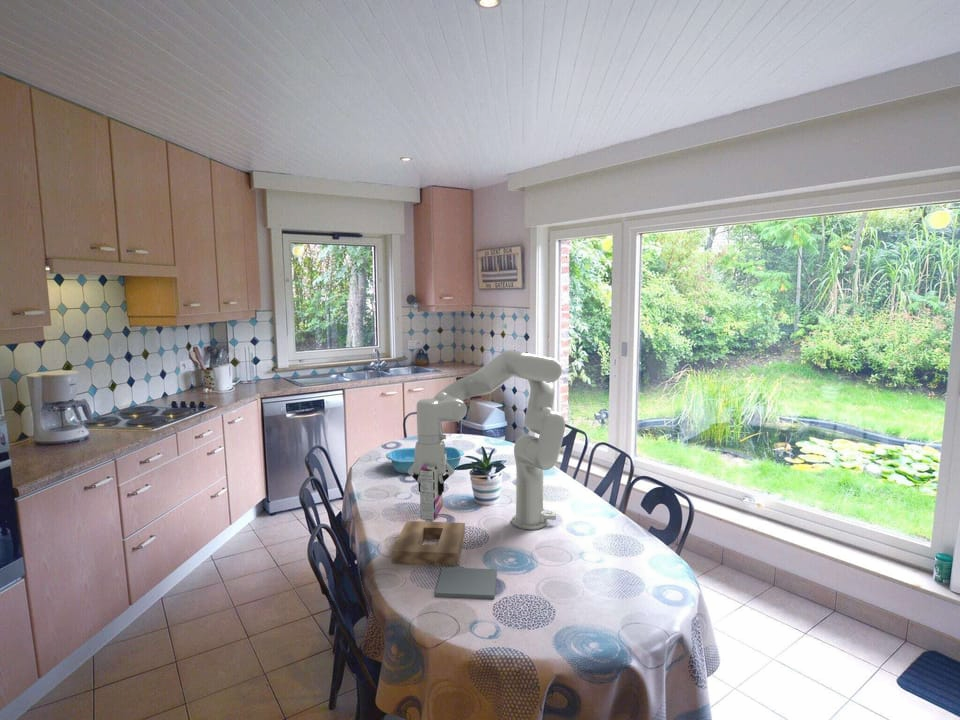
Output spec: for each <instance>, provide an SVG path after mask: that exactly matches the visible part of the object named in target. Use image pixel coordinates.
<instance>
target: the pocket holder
mask: <svg viewBox="0 0 960 720" xmlns="http://www.w3.org/2000/svg"><path fill="white" fill-rule="evenodd" d="M465 535H466V523H465V522H453V521H451V522H450V521H449V522H447V521H446V522H445V521H424V520H423V521H419V520H418V521H417V520H406V522H405V523H404V526H403V527H402V530H401V532H400V534H399V535H398V536H397V539H396V541H395V543H394V545H393V548H392V549H391V564H394V563H398V565H403V564H404V565H421V564H429V566H447V565H453V567H455V566H456V567H458V565H459V561H460V556H461V552H462V547H463V544H464V541H465ZM424 540H438V542H437V545H436V544H423V543H424ZM422 542H423V543H422ZM399 563H400V564H399Z"/></svg>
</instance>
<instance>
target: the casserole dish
mask: <svg viewBox="0 0 960 720" xmlns="http://www.w3.org/2000/svg"><path fill="white" fill-rule="evenodd" d="M445 448H446V455H447V463H448V464H449V465H450V466H451V467H452V469H454V470H456V469H455V467H457V466H458V467H459V464H460V462H461V459H462V456H464V455H465V451H463V450H462V449H459V448H456V447H453V446H445ZM414 454H415V447H412V448H411V447H408V448H407V447H406V448H398V449H397V448H396V449H392V450H391V451H389V452H388V453H386V454H385V457H386V459H387V460H390V461H391V464H392V466H393V469H394V470H395V471H396V472H397V473H398V474H408V473H407V471H408V470H409V469H410V467H411V466H412V465H413V464H414ZM458 467H457V468H458ZM413 471H414V470H413ZM414 472H415V471H414ZM446 472H448V471H447V469H446Z"/></svg>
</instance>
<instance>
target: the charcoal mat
mask: <svg viewBox="0 0 960 720" xmlns="http://www.w3.org/2000/svg"><path fill="white" fill-rule="evenodd" d="M497 572H498V569H497V568H476V567H475V568H473V567H472V568H471V567H470V568H469V567H447V566H445V567H444V566H442V569H441V572H440V575H439V580H438V583H437V586H436V589H435V593H434V594H435V595H434V596H435V597H440V598H441V597H444V598H445V597H446V598H462V599H463V598H466V599H467V598H468V599H469V598H470V599H486V600H487V599H492V600H494V599H495V597H496V586H497V585H496V584H497V574H498V573H497Z"/></svg>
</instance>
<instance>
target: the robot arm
mask: <svg viewBox="0 0 960 720" xmlns="http://www.w3.org/2000/svg"><path fill="white" fill-rule="evenodd" d="M562 370H563V369H562V365H561V363H560V362H559V361H558V359H555V358H553V357H547V356H542V355H537V354H533V353H528V352H524V351H520V350H519V351H517V350H512V349H509V350H504V351H502V352H501V353H499V354H498V355H497V356H495V357H494V358H493V359H491V360H490V361H489V362H487V363H486V364H485V365H484V366H482V367H481V368H479V369H478V370H476V371H475V372H474V373H471V374H468V375H466V376H463V377H462V378H461V377H460V378H459V379H457V380H455V381H453V382H452V383H450V384H448V385H447V386H445V387H444V388H442V389H441V390H440V391H439V392H438V393H437V394H435V396H434V397H433V398H424V399H420V400H418V401H417V403H416V426H417V427H416V429H417V432H416V433H417V441H416V442H415V447H414V448H415V454H414V464H413V465H412V466H411V467H410V469H409V470H408V471H407V473H406V474H408V475H410V476H411V477H412V478H413V479H414V481H416V482H417V484H418V485H417V486H418V492H419V493H420V469H421V467H423V466H431V467H437V474H438V478H439V484H438V488H439V496H441V494H442V495H443V493H444V492H445V481H446V480H447V479H448V478H449V477H451V476H452V475H454V473H455V469H454V470H453V469H452V467H451V466H450V465H449V464H448V463H447V455H446V448H445V447H446V443H445V441H444V440H447V434H443V432H442V423H443V422H445V423H447V422H449V423H450V422H453V423H454V422H458V421H461V420H463V419H464V417H466V416H467V412H468V406H467V405H466V403H465V402H464V401H465V400H467V399H470V398H472V397H478V396H485V395H489V394H491V393H493V392H494V391H496V390H497V389H499V388H500V387H501V386H502V385H503V384H504V383H506V382H508V380H510V379H511V378H512V377H515V378H518V379H524V380H527V381H528V384H529V387H530V388H529V389H530V391H529V398H528V402H527V407H526V412H525V415H524V420H523V421H524V422H523V423H524V426H525V428H526V429H527V430H528V431H530V432H531V433H533V434H537V435H539V436H538V437H537V436H534V435H531V434H525V435H521V436H520V437H518V438H517V440H516V441H515V443H514V446H513V447H514V448H513V455H514V456H513V457H514V459H515V466H516V467H515V469H516V470H515V471H516V475H515V476H516V478H515V479H516V481H515V482H516V483H515V484H516V485H515V487H516V490H515V492H516V493H515V496H516V497H515V514H514V515H513V516H512V518H511V524H512V525H513V526H514V527H516V528H519V529H522V530H528V531H529V530H531V531H532V530H539V529H542V528H545V527H546V526H547V524H548V520H551V521H556V520H557V515H556V514H554V513H553V512H552V511H548V512H547V511H544V471H548V470H551V469H552V468H554V466H555V465H556V464H557V462H558V460H559V457H560V454H561V449H562V443H563V440H564V436H565V430H566V421H565V418H564V416H563V414H562V413H560V412H559V411H557V410H554V409H553V405H554V398H555V387H554V383H555V382H556V381H558V380H559V379H560V377H561V376H562ZM446 469H447V470H448V471H446ZM413 470H414V471H415V472H414V471H413Z"/></svg>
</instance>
